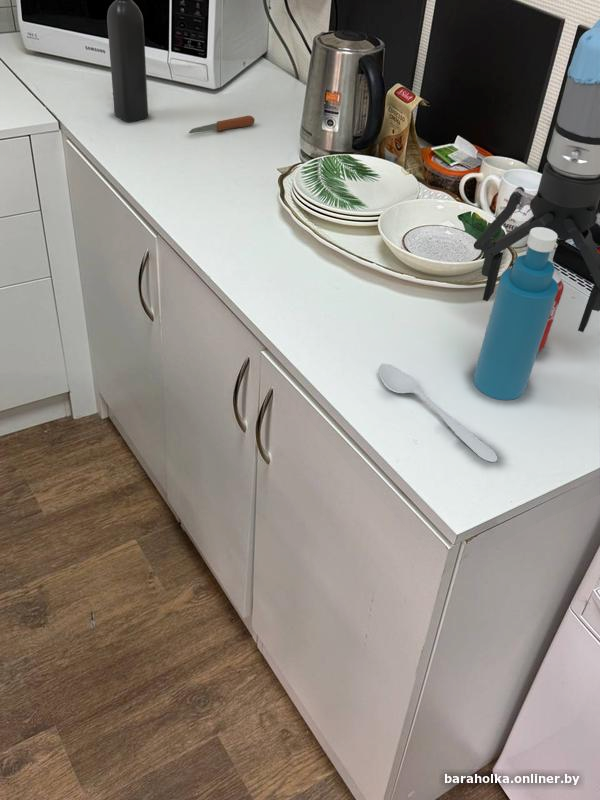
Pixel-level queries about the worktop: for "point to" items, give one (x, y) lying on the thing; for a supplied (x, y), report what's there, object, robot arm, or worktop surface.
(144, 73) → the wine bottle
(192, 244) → the worktop surface
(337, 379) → the worktop surface
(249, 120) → the kitchen knife
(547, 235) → the water bottle
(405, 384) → the spoon
